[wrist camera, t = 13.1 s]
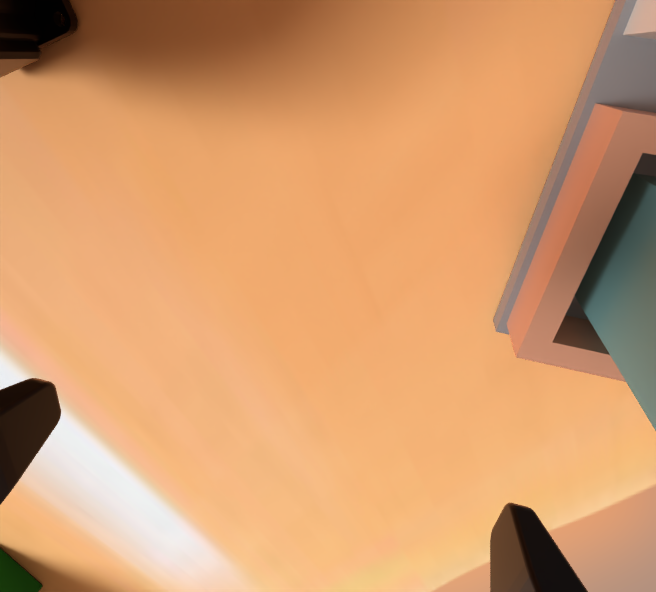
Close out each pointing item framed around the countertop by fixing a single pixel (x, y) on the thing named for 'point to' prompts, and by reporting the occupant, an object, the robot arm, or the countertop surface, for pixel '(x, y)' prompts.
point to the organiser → (585, 197)
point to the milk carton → (15, 576)
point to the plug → (627, 290)
